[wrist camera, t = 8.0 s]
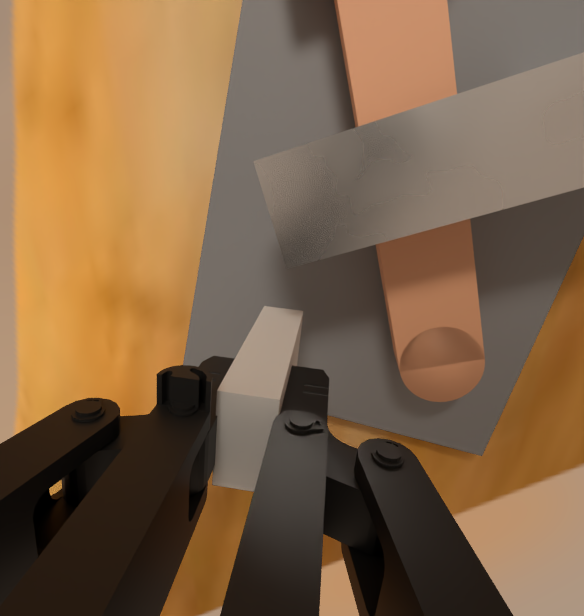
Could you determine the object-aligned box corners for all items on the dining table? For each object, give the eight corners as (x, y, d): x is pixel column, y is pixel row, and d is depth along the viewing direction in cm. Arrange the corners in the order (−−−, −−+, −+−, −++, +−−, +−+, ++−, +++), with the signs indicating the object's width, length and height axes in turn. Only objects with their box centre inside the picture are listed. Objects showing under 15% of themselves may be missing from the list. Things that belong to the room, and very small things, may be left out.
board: (325, -435, 12) (324, -497, 11) (820, -334, 12) (871, -388, 11) (190, 364, 21) (181, 376, 19) (474, 439, 20) (481, 455, 19)
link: (258, -214, 13) (244, -282, 11) (439, -288, 12) (458, -375, 10) (373, 386, 18) (376, 410, 16) (501, 367, 17) (520, 391, 15)
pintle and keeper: (340, -236, 12) (339, -499, 8) (726, 9, 13) (953, -86, 8) (174, 168, 17) (104, 168, 12) (477, 337, 17) (530, 403, 12)
